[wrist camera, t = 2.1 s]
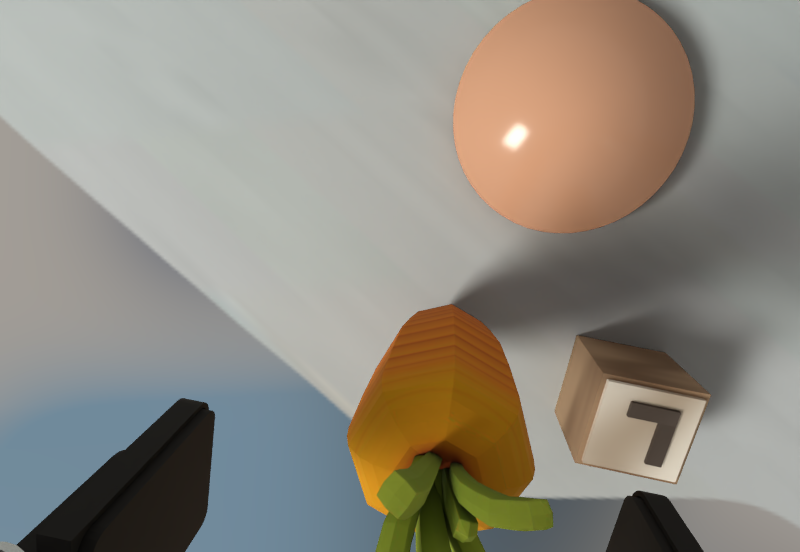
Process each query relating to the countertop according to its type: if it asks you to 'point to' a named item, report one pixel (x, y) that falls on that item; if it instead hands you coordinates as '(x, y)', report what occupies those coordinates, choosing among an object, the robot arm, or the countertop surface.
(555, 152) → the peach glossy dome
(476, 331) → the carrot
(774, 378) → the countertop surface
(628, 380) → the letter cube
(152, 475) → the robot arm
